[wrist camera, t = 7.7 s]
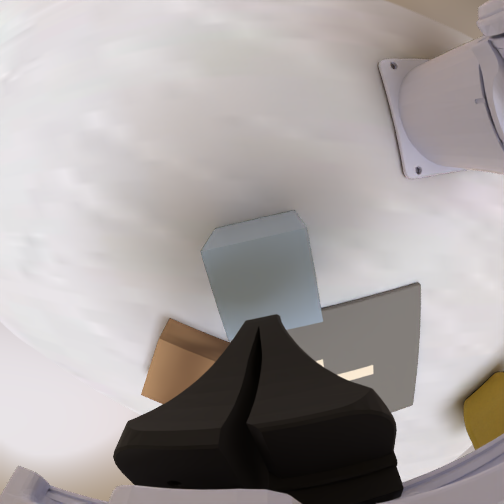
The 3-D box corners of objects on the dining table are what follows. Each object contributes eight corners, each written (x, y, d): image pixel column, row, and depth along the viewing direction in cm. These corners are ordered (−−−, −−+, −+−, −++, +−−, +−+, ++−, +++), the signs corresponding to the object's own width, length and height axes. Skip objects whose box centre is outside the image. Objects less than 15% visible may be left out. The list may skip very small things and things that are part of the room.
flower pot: (506, 349, 22) (551, 397, 13) (513, 383, 23) (548, 426, 15) (445, 403, 24) (480, 463, 15) (462, 429, 25) (489, 478, 17)
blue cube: (294, 209, 18) (306, 227, 14) (309, 283, 20) (323, 321, 15) (215, 228, 19) (200, 251, 14) (235, 299, 20) (228, 340, 15)
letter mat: (418, 282, 19) (420, 284, 19) (411, 402, 23) (412, 405, 23) (243, 325, 21) (242, 328, 20) (278, 436, 24) (279, 439, 24)
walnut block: (247, 347, 22) (245, 372, 19) (219, 397, 23) (214, 423, 20) (170, 316, 21) (159, 338, 18) (152, 371, 23) (141, 394, 20)
